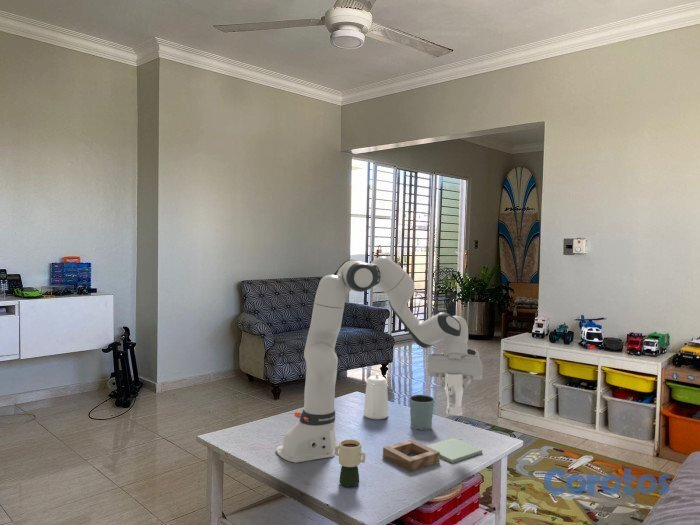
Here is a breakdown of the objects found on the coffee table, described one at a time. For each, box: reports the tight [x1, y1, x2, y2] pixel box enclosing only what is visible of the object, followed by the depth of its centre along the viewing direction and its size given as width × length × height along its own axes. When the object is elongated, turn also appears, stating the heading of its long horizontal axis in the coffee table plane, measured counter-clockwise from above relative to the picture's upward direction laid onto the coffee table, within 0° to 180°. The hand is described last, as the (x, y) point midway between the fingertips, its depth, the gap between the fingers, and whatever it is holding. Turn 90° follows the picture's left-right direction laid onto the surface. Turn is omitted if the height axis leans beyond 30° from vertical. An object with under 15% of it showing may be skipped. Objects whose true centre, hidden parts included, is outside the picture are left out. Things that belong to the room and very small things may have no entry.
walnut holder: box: [382, 438, 441, 473], centre depth 184 cm, size 14×14×4 cm
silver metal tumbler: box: [443, 371, 465, 416], centre depth 191 cm, size 7×7×15 cm
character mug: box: [334, 438, 366, 487], centre depth 165 cm, size 11×7×13 cm, turn 59°
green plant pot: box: [409, 394, 435, 431], centre depth 217 cm, size 10×10×12 cm
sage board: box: [426, 437, 483, 464], centre depth 193 cm, size 16×14×1 cm
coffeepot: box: [363, 372, 389, 420], centre depth 228 cm, size 11×25×19 cm, turn 168°
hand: (453, 387), depth 191 cm, fingers closed on silver metal tumbler, 7 cm apart
